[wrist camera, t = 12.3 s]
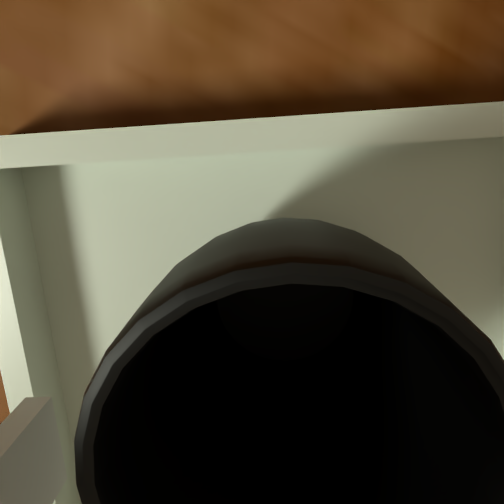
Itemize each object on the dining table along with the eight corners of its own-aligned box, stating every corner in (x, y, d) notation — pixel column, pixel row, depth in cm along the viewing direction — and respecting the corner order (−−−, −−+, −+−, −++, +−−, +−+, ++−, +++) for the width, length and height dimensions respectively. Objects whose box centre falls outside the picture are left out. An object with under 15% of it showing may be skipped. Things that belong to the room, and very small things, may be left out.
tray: (3, 138, 17) (-52, 139, 14) (553, 100, 16) (615, 93, 13) (75, 511, 21) (45, 570, 19) (515, 502, 20) (556, 563, 17)
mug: (153, 453, 19) (44, 746, 10) (192, 169, 16) (87, 216, 7) (345, 487, 19) (411, 810, 10) (420, 210, 16) (614, 310, 7)
